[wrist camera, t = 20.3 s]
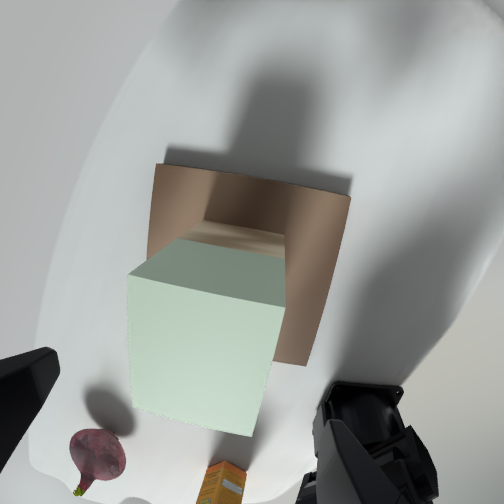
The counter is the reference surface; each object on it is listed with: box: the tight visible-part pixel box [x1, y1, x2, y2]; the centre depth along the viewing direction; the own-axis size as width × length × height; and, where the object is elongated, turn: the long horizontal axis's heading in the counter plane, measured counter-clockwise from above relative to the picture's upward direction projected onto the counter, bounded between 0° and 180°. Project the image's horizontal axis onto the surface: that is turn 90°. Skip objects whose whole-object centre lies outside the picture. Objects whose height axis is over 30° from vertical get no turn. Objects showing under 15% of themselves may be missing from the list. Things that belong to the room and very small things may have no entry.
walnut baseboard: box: [147, 164, 351, 366], centre depth 20 cm, size 12×12×1 cm
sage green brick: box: [128, 238, 286, 437], centre depth 13 cm, size 5×6×5 cm
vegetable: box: [70, 429, 126, 496], centre depth 23 cm, size 6×6×10 cm
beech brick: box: [179, 220, 285, 259], centre depth 17 cm, size 5×6×5 cm
